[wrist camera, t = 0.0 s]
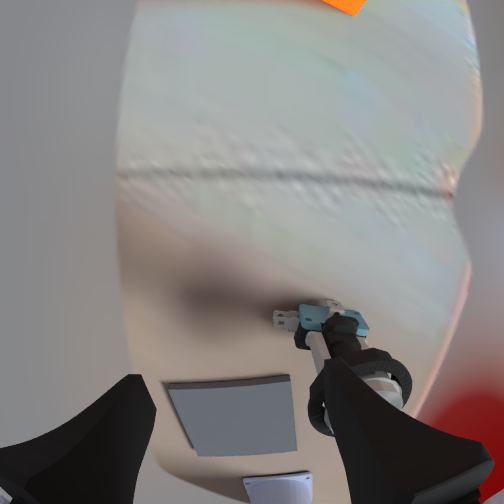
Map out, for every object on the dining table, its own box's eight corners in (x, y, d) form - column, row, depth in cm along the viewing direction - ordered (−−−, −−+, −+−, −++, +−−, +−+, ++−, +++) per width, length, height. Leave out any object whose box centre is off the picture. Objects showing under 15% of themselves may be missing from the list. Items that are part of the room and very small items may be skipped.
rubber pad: (296, 444, 25) (297, 450, 24) (199, 450, 26) (198, 456, 25) (289, 374, 22) (290, 380, 21) (170, 383, 23) (167, 389, 22)
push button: (265, 341, 21) (270, 449, 12) (281, 274, 20) (301, 368, 10) (348, 351, 22) (389, 448, 12) (370, 290, 20) (438, 374, 11)
